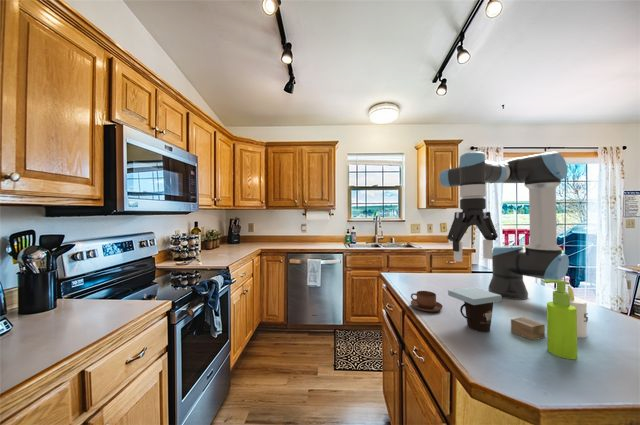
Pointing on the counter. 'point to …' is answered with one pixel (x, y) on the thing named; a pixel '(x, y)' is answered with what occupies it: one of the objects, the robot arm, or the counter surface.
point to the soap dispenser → (561, 323)
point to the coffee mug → (478, 316)
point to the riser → (528, 328)
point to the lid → (474, 295)
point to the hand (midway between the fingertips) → (473, 259)
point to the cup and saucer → (426, 301)
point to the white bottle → (579, 314)
